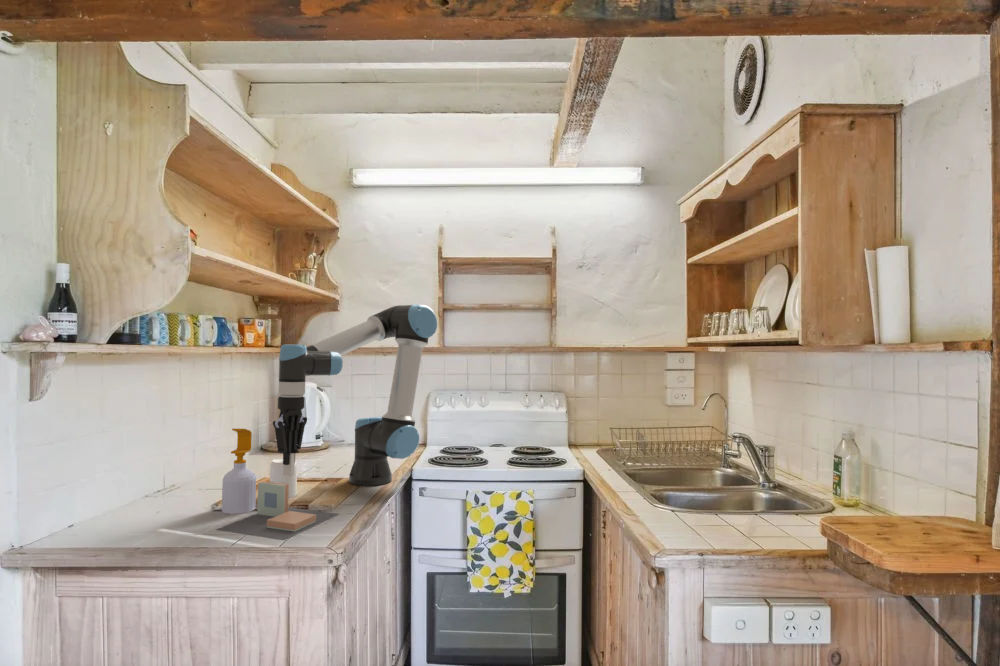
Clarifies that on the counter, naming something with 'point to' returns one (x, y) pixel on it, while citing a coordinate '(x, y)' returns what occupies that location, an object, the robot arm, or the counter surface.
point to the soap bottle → (239, 479)
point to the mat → (258, 527)
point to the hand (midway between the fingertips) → (288, 475)
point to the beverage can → (283, 476)
